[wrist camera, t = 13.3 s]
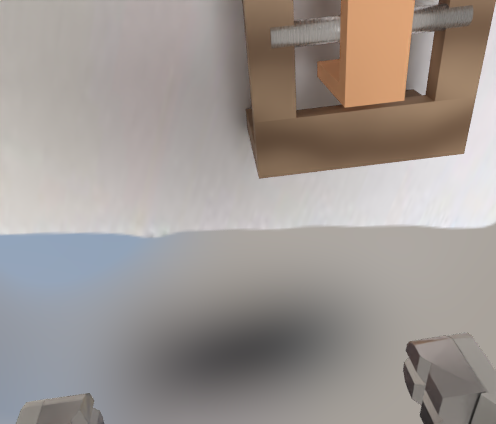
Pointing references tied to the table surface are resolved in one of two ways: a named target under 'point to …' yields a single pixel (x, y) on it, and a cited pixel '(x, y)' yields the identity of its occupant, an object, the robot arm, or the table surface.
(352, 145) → the small wooden table
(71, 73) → the table surface
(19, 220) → the table surface
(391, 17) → the tan cardboard brick
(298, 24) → the grey textured rod
